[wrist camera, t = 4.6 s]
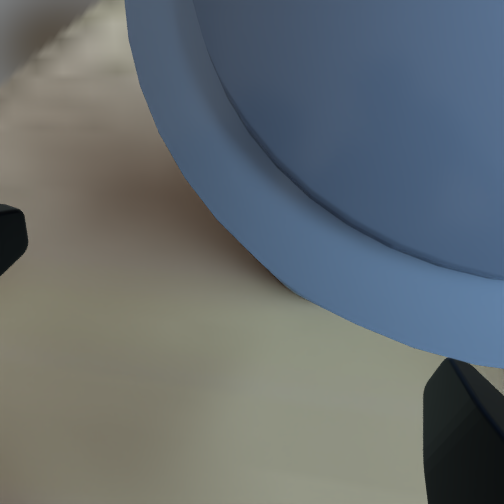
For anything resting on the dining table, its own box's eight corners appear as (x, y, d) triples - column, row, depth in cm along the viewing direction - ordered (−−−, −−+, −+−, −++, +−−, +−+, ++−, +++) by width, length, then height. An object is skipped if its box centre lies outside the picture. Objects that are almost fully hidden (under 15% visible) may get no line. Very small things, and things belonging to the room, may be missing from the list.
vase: (327, 334, 15) (576, 625, 2) (233, 228, 16) (-51, -85, 3) (436, 238, 15) (1452, -141, 2) (336, 137, 16) (561, -639, 3)
